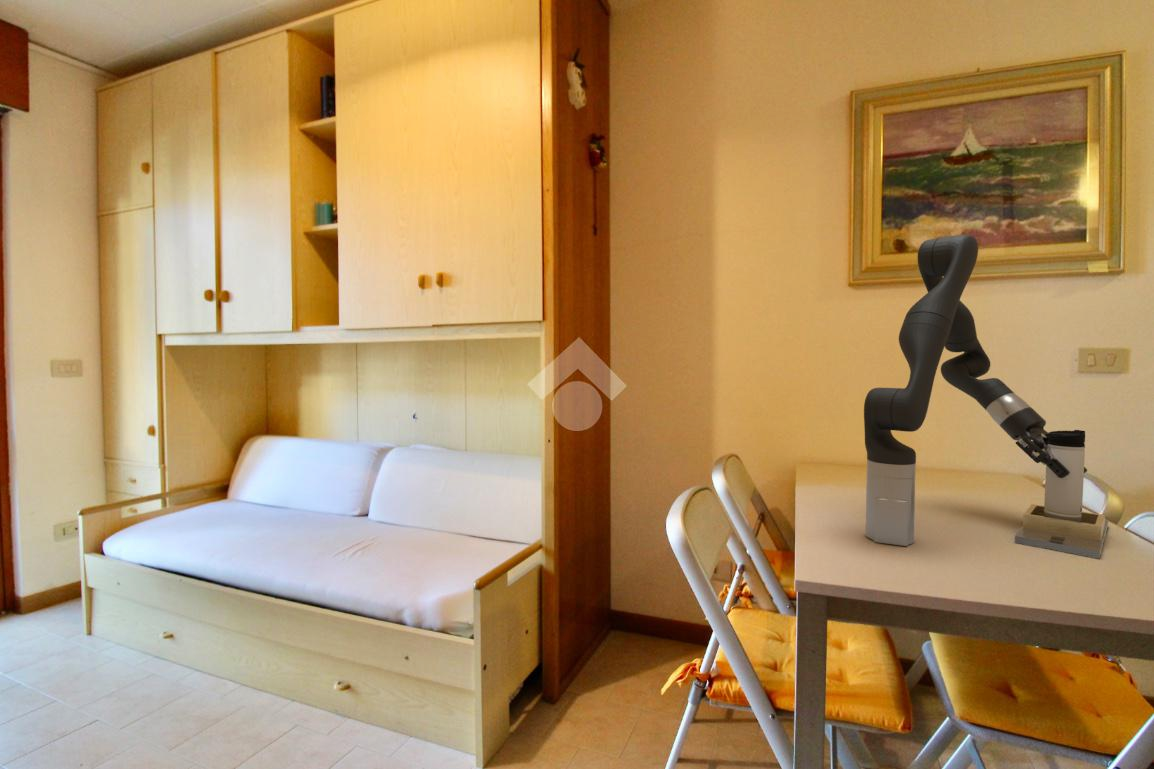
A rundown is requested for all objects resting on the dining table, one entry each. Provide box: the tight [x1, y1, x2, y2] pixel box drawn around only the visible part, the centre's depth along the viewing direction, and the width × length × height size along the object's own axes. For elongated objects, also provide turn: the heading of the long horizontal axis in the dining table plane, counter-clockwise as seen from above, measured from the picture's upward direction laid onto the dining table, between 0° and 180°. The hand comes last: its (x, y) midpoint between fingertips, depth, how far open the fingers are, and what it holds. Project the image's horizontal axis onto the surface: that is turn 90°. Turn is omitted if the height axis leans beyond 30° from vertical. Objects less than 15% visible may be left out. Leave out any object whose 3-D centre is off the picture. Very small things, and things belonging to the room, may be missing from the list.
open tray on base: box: [1014, 503, 1109, 560], centre depth 119 cm, size 30×13×4 cm, turn 133°
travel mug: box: [1043, 429, 1086, 522], centre depth 118 cm, size 6×7×20 cm
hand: (1074, 474), depth 117 cm, fingers closed on travel mug, 6 cm apart
